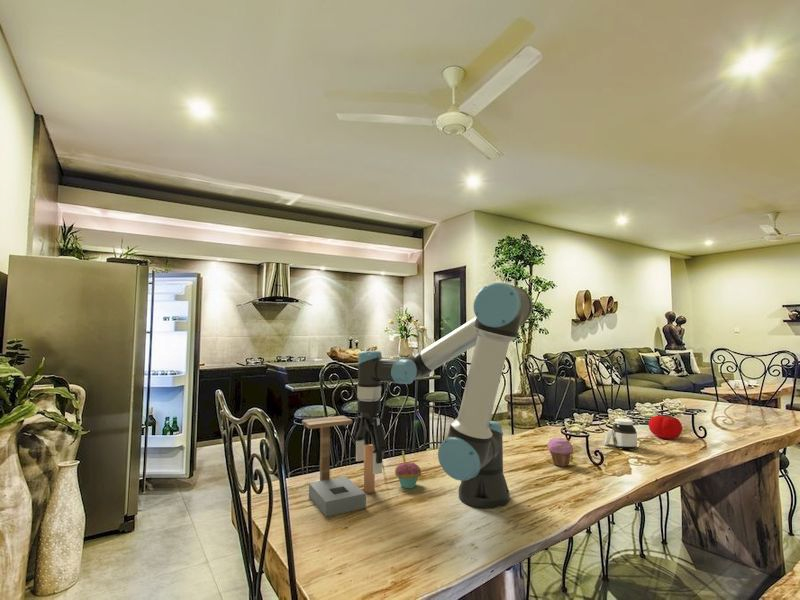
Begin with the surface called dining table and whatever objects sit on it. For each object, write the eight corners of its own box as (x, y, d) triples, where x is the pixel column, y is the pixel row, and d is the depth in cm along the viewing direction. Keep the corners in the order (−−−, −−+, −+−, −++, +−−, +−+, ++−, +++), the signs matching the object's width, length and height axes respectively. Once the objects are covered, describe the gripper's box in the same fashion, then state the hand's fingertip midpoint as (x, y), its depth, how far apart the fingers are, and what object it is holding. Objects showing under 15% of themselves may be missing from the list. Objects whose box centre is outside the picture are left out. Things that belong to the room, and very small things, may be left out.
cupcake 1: (402, 492, 131) (402, 453, 131) (390, 483, 138) (390, 446, 139) (426, 487, 135) (425, 449, 135) (413, 479, 142) (412, 443, 143)
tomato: (656, 440, 189) (655, 417, 190) (645, 433, 201) (644, 411, 202) (688, 441, 187) (687, 417, 187) (675, 434, 199) (674, 412, 200)
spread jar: (640, 451, 173) (639, 422, 174) (613, 451, 173) (612, 422, 174) (625, 443, 185) (624, 416, 186) (599, 443, 185) (598, 416, 186)
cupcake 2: (565, 470, 150) (565, 442, 151) (543, 464, 156) (543, 437, 157) (577, 465, 156) (576, 437, 156) (555, 459, 162) (555, 433, 163)
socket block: (365, 507, 119) (365, 493, 120) (325, 516, 114) (325, 501, 114) (345, 489, 134) (345, 476, 134) (308, 496, 128) (309, 483, 128)
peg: (376, 491, 131) (376, 446, 132) (366, 493, 130) (366, 447, 131) (371, 488, 134) (371, 443, 135) (362, 490, 133) (362, 445, 134)
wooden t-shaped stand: (352, 491, 131) (352, 420, 133) (308, 500, 125) (309, 425, 126) (343, 483, 138) (343, 415, 140) (301, 491, 132) (302, 420, 133)
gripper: (397, 404, 125) (397, 477, 123) (364, 392, 147) (363, 454, 145) (375, 406, 121) (374, 481, 120) (344, 394, 143) (343, 457, 142)
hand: (368, 466), depth 133 cm, fingers open, 13 cm apart
